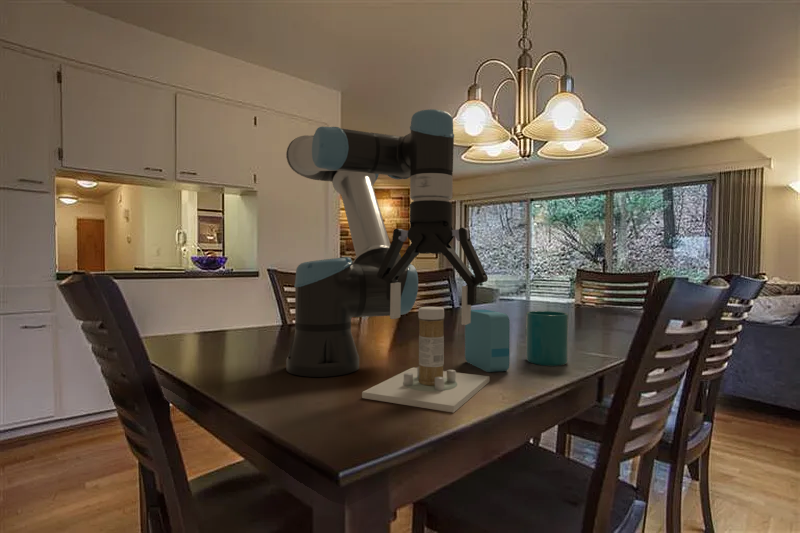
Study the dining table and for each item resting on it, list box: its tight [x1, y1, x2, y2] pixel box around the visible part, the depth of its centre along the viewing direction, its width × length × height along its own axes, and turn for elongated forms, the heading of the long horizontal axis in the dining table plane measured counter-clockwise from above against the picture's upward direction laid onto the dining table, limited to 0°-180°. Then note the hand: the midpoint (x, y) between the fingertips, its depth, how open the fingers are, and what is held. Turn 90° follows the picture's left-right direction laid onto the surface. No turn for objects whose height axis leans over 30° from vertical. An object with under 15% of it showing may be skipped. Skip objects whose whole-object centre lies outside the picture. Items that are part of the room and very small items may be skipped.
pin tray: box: [361, 366, 490, 413], centre depth 80 cm, size 16×20×3 cm
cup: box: [525, 310, 569, 367], centre depth 104 cm, size 9×12×11 cm
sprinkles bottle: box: [417, 306, 445, 386], centre depth 80 cm, size 5×5×13 cm
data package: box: [464, 309, 511, 373], centre depth 98 cm, size 12×4×12 cm, turn 17°
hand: (429, 321), depth 80 cm, fingers open, 13 cm apart
